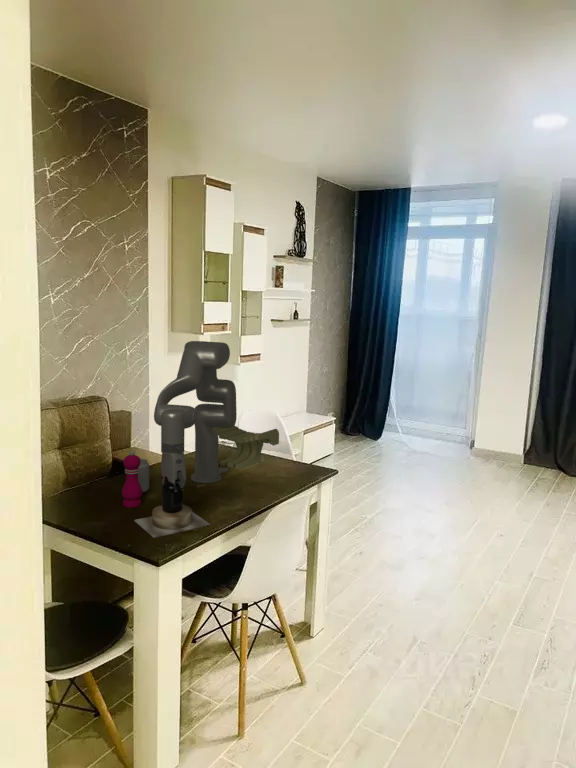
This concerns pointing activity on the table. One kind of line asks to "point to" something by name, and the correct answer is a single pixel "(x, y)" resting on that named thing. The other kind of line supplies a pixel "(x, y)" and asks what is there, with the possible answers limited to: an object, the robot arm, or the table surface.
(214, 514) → the table surface
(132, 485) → the pepper mill
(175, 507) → the supplement bottle
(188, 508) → the pedestal
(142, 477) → the can
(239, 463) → the slatted curved stool
